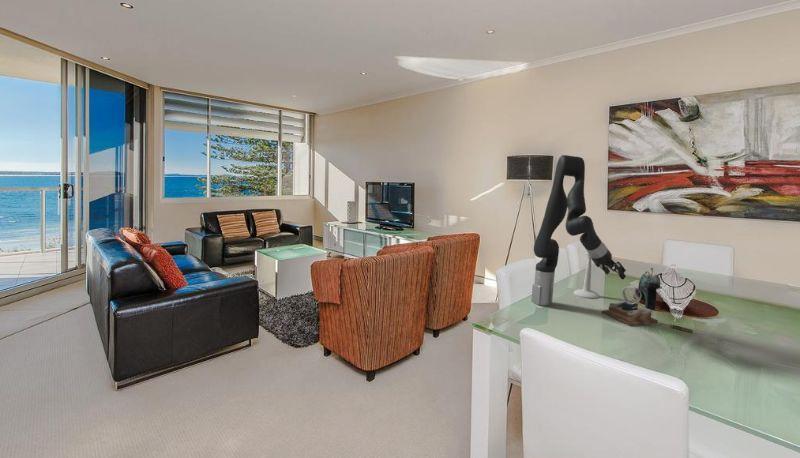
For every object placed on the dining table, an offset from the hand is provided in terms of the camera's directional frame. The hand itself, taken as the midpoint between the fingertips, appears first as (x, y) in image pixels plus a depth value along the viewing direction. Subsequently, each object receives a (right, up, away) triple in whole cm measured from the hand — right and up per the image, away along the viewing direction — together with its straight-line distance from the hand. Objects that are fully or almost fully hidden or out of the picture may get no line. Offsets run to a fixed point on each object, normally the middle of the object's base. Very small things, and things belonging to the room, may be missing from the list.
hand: (615, 275), depth 170 cm
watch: (+9, -17, +5) cm, 20 cm away
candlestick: (+6, -16, +39) cm, 42 cm away
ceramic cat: (+30, -18, +25) cm, 43 cm away
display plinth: (+9, -20, +6) cm, 23 cm away
